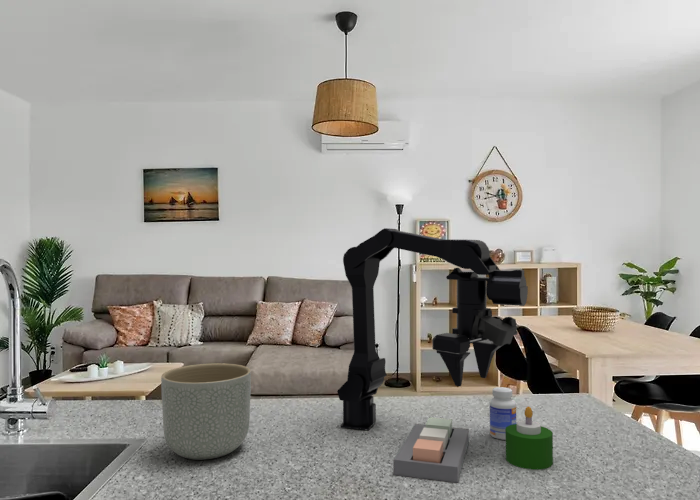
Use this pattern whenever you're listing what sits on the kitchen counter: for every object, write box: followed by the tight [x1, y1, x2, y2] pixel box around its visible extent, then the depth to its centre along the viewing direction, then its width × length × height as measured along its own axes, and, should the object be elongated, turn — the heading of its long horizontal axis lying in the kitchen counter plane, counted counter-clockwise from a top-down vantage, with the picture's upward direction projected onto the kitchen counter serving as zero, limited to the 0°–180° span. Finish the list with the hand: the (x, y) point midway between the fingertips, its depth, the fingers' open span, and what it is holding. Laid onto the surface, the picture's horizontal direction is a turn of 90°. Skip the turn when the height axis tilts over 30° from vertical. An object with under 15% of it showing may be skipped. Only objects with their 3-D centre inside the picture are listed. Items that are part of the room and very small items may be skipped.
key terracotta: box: [413, 439, 443, 463], centre depth 95 cm, size 5×5×2 cm
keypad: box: [392, 423, 470, 484], centre depth 101 cm, size 11×20×3 cm, turn 162°
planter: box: [160, 362, 252, 461], centre depth 105 cm, size 17×17×15 cm
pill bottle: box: [488, 386, 517, 441], centre depth 112 cm, size 5×5×10 cm
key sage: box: [425, 417, 453, 438], centre depth 107 cm, size 5×5×2 cm
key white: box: [420, 427, 448, 450], centre depth 101 cm, size 5×5×2 cm
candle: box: [505, 406, 554, 471], centre depth 99 cm, size 8×8×10 cm
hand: (471, 381), depth 106 cm, fingers open, 9 cm apart
